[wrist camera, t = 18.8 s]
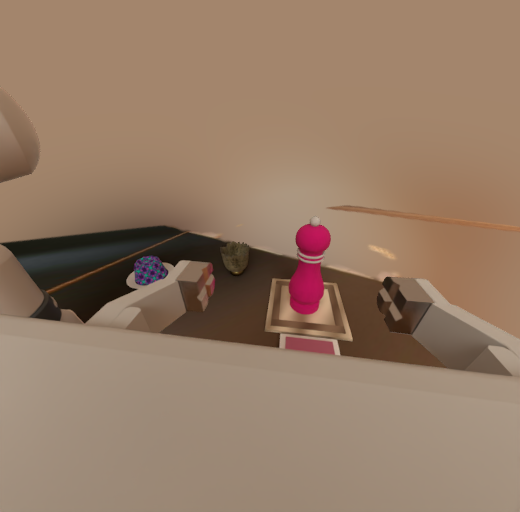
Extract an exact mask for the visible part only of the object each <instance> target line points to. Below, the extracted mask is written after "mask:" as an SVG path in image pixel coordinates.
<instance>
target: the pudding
mask: <svg viewBox="0 0 520 512" xmlns="http://www.w3.org/2000/svg"><path fill="white" fill-rule="evenodd" d="M173 269H174V266H173V265H171V264H169V263H162V262H161V261H160V259H159V258H158V257H156V256H146V257H142V258H141V259H138V260H137V261H136V263H135V264H134V272H132V273H131V274H130V275H129V276H128V278H127V281H126V282H127V285H128V286H129V287H131V288H135V289H140V288H142V287H145V286H142V285H144V284H146V286H147V285H149V284H151V283H153V282H156V281H158V280H160V279H164V277H165V276H167V275H168V274H169V273H170V272H171V271H172V270H173ZM167 270H168V272H167ZM135 281H136V282H138V284H139V285H138V284H136V283H135Z"/></svg>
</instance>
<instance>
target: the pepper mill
mask: <svg viewBox="0 0 520 512" xmlns="http://www.w3.org/2000/svg"><path fill="white" fill-rule="evenodd" d="M320 222H321V220H320V218H319V217H317V216H314V217H312V218H311V219H310V224H307V225H304V226H303V227H301V228H300V229H299V230H298V232H297V235H296V244H297V246H298V247H299V248H298V250H297V252H298V253H297V257H298V258H299V263H298V267H297V270H296V272H295V273H294V275H293V276H292V278H291V280H290V282H289V287H288V288H289V293H290V306H291V308H292V309H293V310H294V311H296V312H297V313H300V314H304V315H309V314H313V313H315V312H316V311H317V310H318V308H319V303H320V300H321V298H322V297H323V295H324V282H323V279H322V277H321V272H320V264H321V262H322V261H323V260H324V255H325V250H326V249H327V248H328V247H329V245H330V240H331V238H330V233H329V231H328V230H327V229H326V228H325V227H324V226H322V225H319V224H320Z"/></svg>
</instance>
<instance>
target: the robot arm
mask: <svg viewBox="0 0 520 512" xmlns="http://www.w3.org/2000/svg"><path fill="white" fill-rule="evenodd" d="M39 157H40V144H39V139H38V135H37V133H36V130H35V128H34V126H33V124H32V122H31V120H30V119H29V117H28V116H27V114H26V113H25V112H24V110H23V109H22V108H21V107H20V105H19V104H18V103H17V102H16V101H15V100H14V99H13V98H12V96H10V95H9V94H8V93H7V92H6V91H5V90H4V89H3V88H2V87H1V86H0V183H1V182H5V181H9V180H12V179H15V178H19V177H22V176H25V175H29V174H32V172H33V171H34V170H35V168H36V166H37V164H38V161H39ZM212 271H213V266H212V264H211V263H206V262H196V261H184V260H182V261H180V262H179V263H178V264H177V265H176V266H175V267H174V269H173V270H172V271H171V272H170V273H169V274H168V275H167V276H166V278H165V279H160V280H158V281H156V282H153V283H151V284H149V285H147V286H145V287H142V288H140V289H138V290H136V291H133V292H131V293H129V294H127V295H124V296H122V297H120V298H118V299H116V300H113V301H111V302H109V303H107V304H106V305H105V306H104V307H103V308H101V309H100V310H99V311H98V312H97V313H96V314H95V315H94V316H93V317H92V318H91V319H89V320H88V321H87V322H86V323H85V324H84V323H83V322H82V321H81V320H80V319H79V317H78V316H77V315H76V314H75V313H74V312H73V311H72V310H64V309H60V308H59V307H58V305H57V302H56V301H55V300H54V299H53V298H52V297H51V296H50V295H49V294H48V293H47V292H46V291H44V290H41V289H39V288H38V287H37V285H36V284H35V283H34V281H33V280H32V279H31V277H30V276H29V275H28V273H27V272H26V271H25V270H24V268H23V267H22V266H21V264H20V263H19V262H18V260H17V259H16V258H15V256H14V255H13V254H12V252H11V251H10V250H8V249H7V248H6V247H4V246H2V245H1V244H0V512H520V339H518V338H516V337H514V336H512V335H510V334H508V333H506V332H505V331H503V330H501V329H499V328H497V327H495V326H493V325H491V324H489V323H488V322H486V321H484V320H482V319H480V318H478V317H476V316H474V315H472V314H471V313H469V312H467V311H465V310H463V309H461V308H459V307H457V306H455V305H450V303H449V302H448V301H447V300H446V299H445V298H444V297H443V296H442V295H441V294H440V293H439V292H438V291H437V290H436V289H435V288H434V287H433V286H432V284H431V283H430V282H429V281H428V280H426V279H420V278H398V277H386V278H385V279H384V281H383V283H382V284H383V286H384V288H383V289H382V290H380V291H379V293H378V296H377V305H378V308H379V311H380V312H381V313H383V314H384V315H385V318H384V321H385V323H386V324H387V326H388V328H389V330H390V332H394V333H402V334H410V335H412V336H413V337H414V338H415V339H416V340H417V341H418V342H419V343H421V344H422V345H423V346H424V347H425V348H426V349H427V350H428V351H430V352H431V353H432V354H433V355H434V356H435V357H436V358H437V359H439V360H440V361H441V362H442V363H443V364H444V365H445V366H446V367H448V368H449V369H447V368H439V367H430V366H422V365H414V364H406V363H397V362H389V361H381V360H373V359H365V358H357V357H349V356H341V355H333V354H324V353H316V352H308V351H300V350H291V349H283V348H275V347H267V346H259V345H250V344H242V343H234V342H226V341H218V340H209V339H201V338H193V337H185V336H177V335H168V334H160V333H159V332H160V331H162V330H163V329H164V328H166V327H167V326H168V325H170V324H171V323H172V322H173V321H175V320H176V319H177V318H179V317H180V316H181V315H183V314H184V313H185V312H186V311H196V312H204V310H205V308H206V306H207V304H208V297H210V296H212V294H213V291H214V287H215V279H214V276H213V275H212V274H211V273H212Z"/></svg>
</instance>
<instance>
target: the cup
mask: <svg viewBox="0 0 520 512" xmlns="http://www.w3.org/2000/svg"><path fill="white" fill-rule="evenodd" d="M220 249H221V250H220V252H221V255H222V259H223V262H224V265H225V267H226V268H227V269H228V270H229V271H230V272H231V274H232V275H234V276H239V275H241V274H242V273H243V271H244V269H245V268H246V267H247V264H248V259H249V245H248V246H247V244H244V242H243V243H242V244H240V242H238V244H237V243H235V242H232V243H227V247H223V246H222V247H221V248H220Z"/></svg>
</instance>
